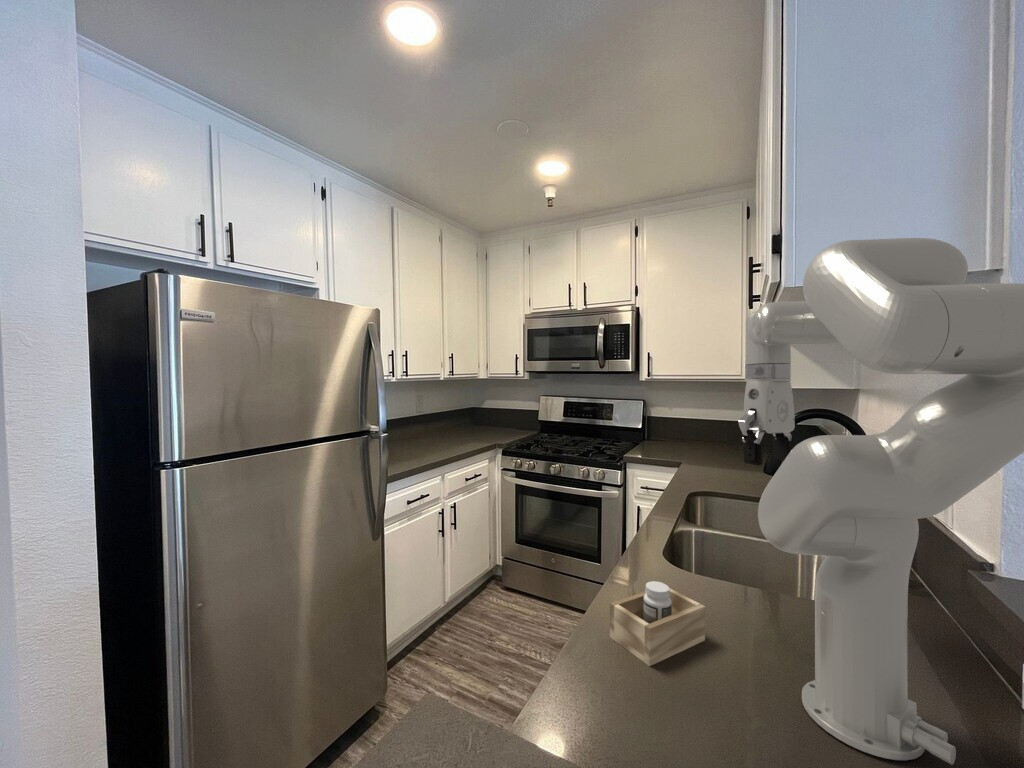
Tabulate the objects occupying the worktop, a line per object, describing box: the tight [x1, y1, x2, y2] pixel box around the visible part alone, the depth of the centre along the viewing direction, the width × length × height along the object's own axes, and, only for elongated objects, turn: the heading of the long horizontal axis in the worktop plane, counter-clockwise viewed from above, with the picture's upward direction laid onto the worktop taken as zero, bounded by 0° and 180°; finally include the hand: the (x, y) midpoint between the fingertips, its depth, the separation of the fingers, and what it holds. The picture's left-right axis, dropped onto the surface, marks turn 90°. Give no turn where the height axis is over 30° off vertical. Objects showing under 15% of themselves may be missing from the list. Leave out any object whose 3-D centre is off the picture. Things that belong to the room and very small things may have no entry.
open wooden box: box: [609, 587, 706, 667], centre depth 74 cm, size 9×14×6 cm, turn 120°
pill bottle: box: [644, 580, 672, 624], centre depth 74 cm, size 5×5×8 cm
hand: (767, 461), depth 81 cm, fingers open, 9 cm apart
